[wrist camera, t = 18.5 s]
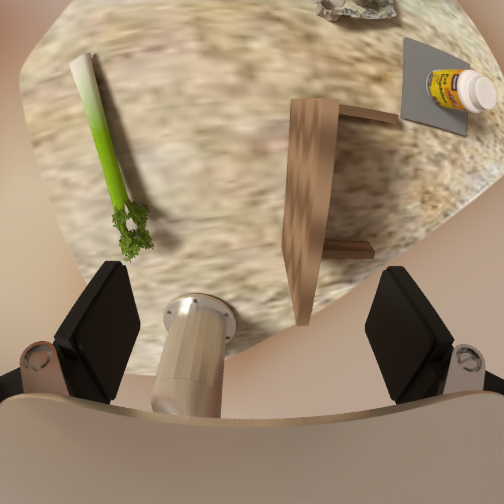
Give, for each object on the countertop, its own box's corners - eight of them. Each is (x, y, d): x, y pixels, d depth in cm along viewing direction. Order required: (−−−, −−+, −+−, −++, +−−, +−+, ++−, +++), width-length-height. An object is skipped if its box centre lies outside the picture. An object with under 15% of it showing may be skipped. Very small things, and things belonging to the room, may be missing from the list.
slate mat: (461, 134, 32) (465, 136, 31) (400, 117, 31) (403, 118, 31) (466, 64, 26) (469, 64, 25) (403, 38, 25) (407, 37, 25)
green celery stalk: (109, 50, 28) (170, 241, 40) (75, 73, 30) (133, 249, 42) (82, 45, 23) (152, 262, 35) (47, 72, 24) (113, 269, 36)
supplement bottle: (421, 68, 27) (468, 66, 18) (450, 72, 26) (498, 73, 17) (426, 106, 29) (473, 114, 20) (454, 108, 29) (502, 118, 20)
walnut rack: (366, 248, 41) (410, 319, 27) (281, 246, 41) (296, 325, 27) (388, 113, 31) (464, 130, 17) (290, 99, 31) (323, 97, 17)
